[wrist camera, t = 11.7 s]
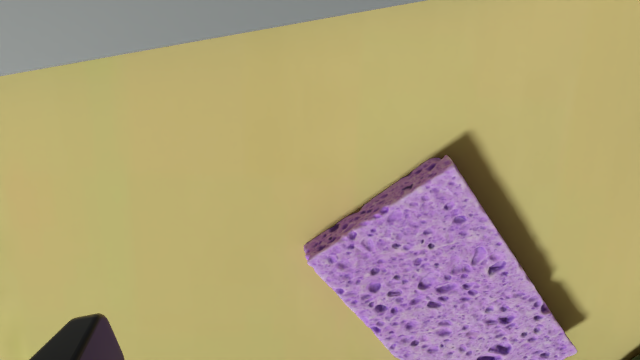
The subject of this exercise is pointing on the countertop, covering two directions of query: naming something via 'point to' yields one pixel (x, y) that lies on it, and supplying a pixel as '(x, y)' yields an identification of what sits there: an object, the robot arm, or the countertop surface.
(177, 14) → the gear board
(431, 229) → the sponges
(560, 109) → the countertop surface
